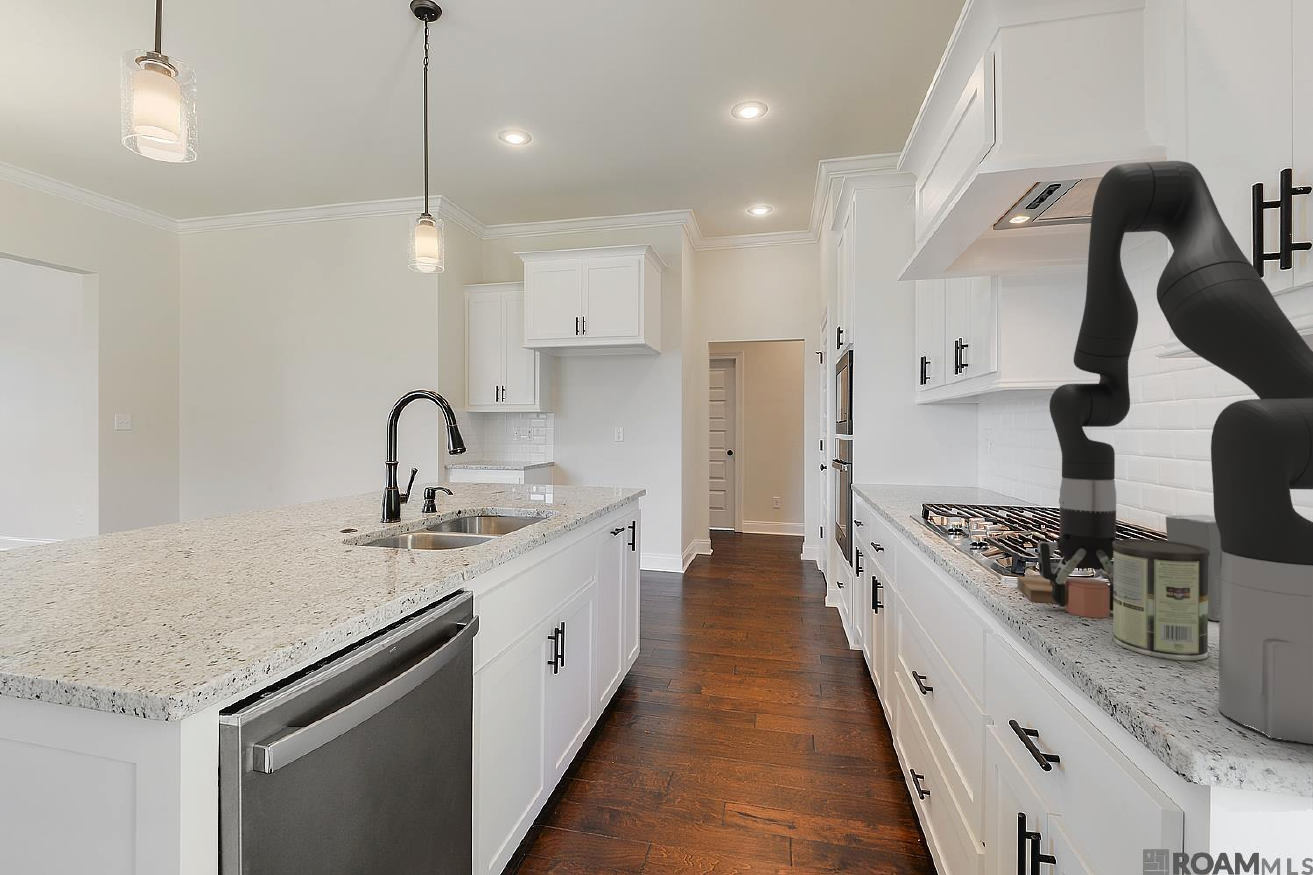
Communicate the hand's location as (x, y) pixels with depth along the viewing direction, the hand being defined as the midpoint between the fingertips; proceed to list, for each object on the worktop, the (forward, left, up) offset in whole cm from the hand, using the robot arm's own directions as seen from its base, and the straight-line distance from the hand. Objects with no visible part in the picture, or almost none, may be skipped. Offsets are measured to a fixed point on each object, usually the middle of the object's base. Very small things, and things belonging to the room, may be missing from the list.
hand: (1086, 607), depth 99 cm
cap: (0, 0, -1) cm, 1 cm away
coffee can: (-15, -4, -1) cm, 16 cm away
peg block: (+9, +2, -1) cm, 9 cm away
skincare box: (+5, -18, -1) cm, 19 cm away
